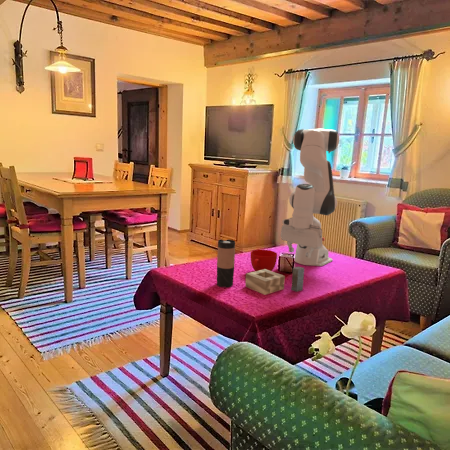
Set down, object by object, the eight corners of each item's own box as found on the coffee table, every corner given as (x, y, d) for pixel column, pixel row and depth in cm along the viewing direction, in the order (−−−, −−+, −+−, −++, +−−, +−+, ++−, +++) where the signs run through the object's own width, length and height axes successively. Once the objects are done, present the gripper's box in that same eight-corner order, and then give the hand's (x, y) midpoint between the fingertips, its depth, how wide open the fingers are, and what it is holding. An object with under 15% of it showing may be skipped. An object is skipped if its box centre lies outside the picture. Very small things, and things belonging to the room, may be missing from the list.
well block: (264, 281, 186) (265, 269, 184) (283, 289, 177) (284, 276, 175) (245, 286, 178) (246, 273, 177) (264, 294, 169) (265, 281, 168)
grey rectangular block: (297, 288, 179) (298, 266, 177) (302, 290, 176) (304, 268, 174) (291, 289, 176) (292, 268, 174) (296, 291, 174) (298, 269, 172)
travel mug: (227, 288, 174) (229, 244, 170) (212, 285, 178) (214, 241, 174) (236, 284, 180) (238, 240, 176) (222, 280, 184) (223, 238, 180)
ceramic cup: (241, 275, 192) (242, 255, 190) (255, 267, 207) (256, 248, 205) (266, 280, 186) (268, 260, 184) (279, 271, 201) (280, 252, 199)
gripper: (327, 226, 164) (324, 259, 167) (289, 218, 180) (286, 248, 182) (317, 227, 160) (314, 261, 163) (279, 219, 176) (277, 250, 178)
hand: (299, 254), depth 173 cm, fingers open, 8 cm apart
